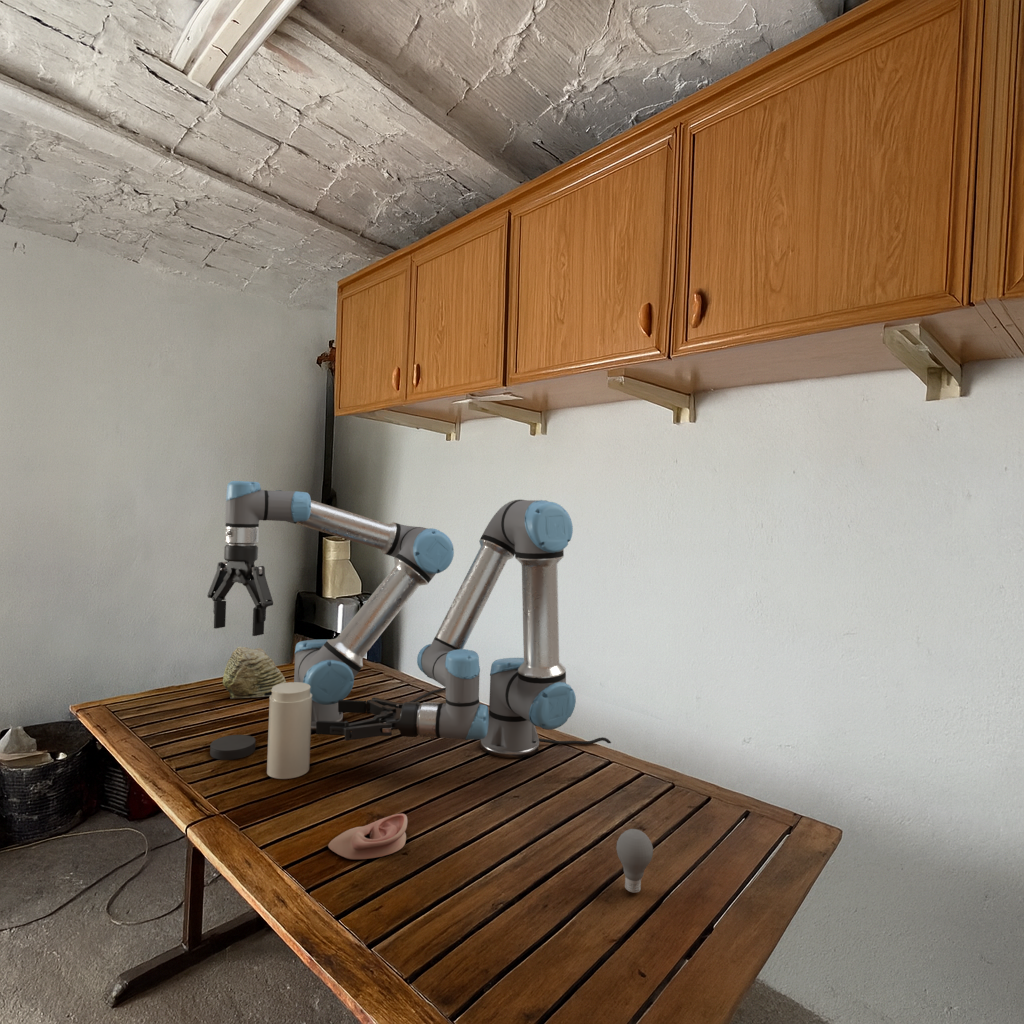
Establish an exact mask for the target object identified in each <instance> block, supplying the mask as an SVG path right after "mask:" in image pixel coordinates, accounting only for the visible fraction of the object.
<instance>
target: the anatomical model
mask: <svg viewBox="0 0 1024 1024" xmlns="http://www.w3.org/2000/svg"><path fill="white" fill-rule="evenodd" d="M407 827H408V816H407V815H406V814H405V813H396V814H392V815H388V816H385V817H383V818H380V819H377V820H376V821H373V822H371V823H368V824H366V825H363V826H356V827H352V828H350V829H347V830H345V831H343V832H341V833H340V834H338V835H337V836H335V837H334V838H333V839H331V841H329V843H328V845H327V847H328V849H329V850H331V851H332V852H334V853H335V854H337V855H338V856H341V857H342V858H345V859H347V860H355V861H356V860H367V859H369V860H370V859H375V858H381V857H385V856H388V855H391V854H395V853H396V852H398V851H400V850H401V849H403V847H404V846H405V844H406V841H407V833H406V830H407Z"/></svg>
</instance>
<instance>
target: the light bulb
mask: <svg viewBox="0 0 1024 1024" xmlns="http://www.w3.org/2000/svg"><path fill="white" fill-rule="evenodd" d="M615 849H616V854H617V857H618V859H619V861H620V863H621V865H622V867H623V873H624V874H623V875H624V876H625V878H624V888H625V890H627V891H628V892H630V893H634V894H635V893H639V892H640V891H641V889H642V887H641V886H642V879H643V877H644V875H645V871H646V868H647V867H648V866H649V864H650V863H651V861H652V859H653V855H654V847H653V843H652V841H651V838H649V836H648V835H647V834H646V833H645V832H643V831H642V830H641V829H636V828H629V829H627V830H625V831H623V832H622V833H621V834H620V835H619V837H618V839H617V841H616V847H615Z"/></svg>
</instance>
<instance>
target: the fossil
mask: <svg viewBox="0 0 1024 1024" xmlns="http://www.w3.org/2000/svg"><path fill="white" fill-rule="evenodd" d="M222 676H223V677H222V685H223V687H224V688H225V690H226V691H228V693H229V698H230V699H250V698H264V697H270V696H271V695H272V691H271V689H272V687H274V686H275V685H278V684H282V683H287V680H286V678H285V676H284V674H283V673H282V672H281V669H279V668H278V667H277V665H276V663H275V662H274V660H273V659H272V658H271V657H270V656H269V655H268V654H267V653H266V652H265V650H264V649H263V648H260V647H258V648H251V647H247V646H246V647H245V646H238V647H237V648H236V649H235V650H233V651H232V653H231V656H230V657H229V659H228V660H227V663H226V666H225V668H224V671H223V675H222Z"/></svg>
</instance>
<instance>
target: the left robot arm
mask: <svg viewBox="0 0 1024 1024" xmlns="http://www.w3.org/2000/svg"><path fill="white" fill-rule="evenodd" d="M260 521H264V522H265V521H274V522H287V523H290V524H295V525H298V526H300V527H305V528H308V529H311V530H315V531H318V532H321V533H325V534H328V535H332V536H335V537H337V538H342V539H345V540H348V541H352V542H354V543H358V544H362V545H365V546H367V547H372V548H375V549H379V550H380V551H381V553H382V554H383V555H386V556H389V557H391V558H392V557H393V560H394V561H393V562H394V566H393V568H392V569H391V570H390V571H389V573H388V574H387V575H386V577H384V579H383V580H382V581H381V583H380V584H379V585H378V586H377V588H376V589H375V590H374V591H373V592H372V594H371V595H370V596H369V598H368V599H367V600H366V601H365V603H364V604H363V605H362V606H361V607H360V609H359V610H358V611H357V612H356V613H355V615H354V616H353V617H352V618H351V619H350V621H349V622H348V623H347V625H346V626H345V627H344V628H343V630H342V631H341V632H340V633H339V634H338V636H336V637H335V638H331V639H328V638H327V639H307V640H301V641H299V642H297V643H296V644H295V648H294V649H295V650H294V672H293V673H294V674H293V675H294V676H293V682H301V683H306V684H309V685H310V687H311V688H310V693H311V694H312V716H311V733H316V722H317V721H338V722H344V714H343V713H344V712H338V701H339V700H346V698H347V697H348V696H349V695H350V693H351V692H352V690H353V687H354V684H355V677H356V676H357V675H358V674H359V672H360V671H361V670H362V669H363V667H364V664H363V663H364V662H363V658H364V657H365V656H366V654H367V653H368V651H369V650H371V648H372V646H373V645H374V644H375V643H376V641H378V639H379V637H380V636H382V634H383V633H384V631H385V630H386V629H387V628H388V626H389V625H390V624H391V623H392V621H393V620H394V619H395V617H396V616H397V615H398V614H399V612H400V611H401V610H402V609H403V608H404V606H405V605H406V603H408V602H409V600H410V598H411V597H412V596H413V595H414V594H415V593H416V591H417V589H418V588H419V587H421V586H427V585H429V583H430V582H431V581H432V580H433V578H434V577H435V576H436V575H438V574H441V573H442V572H444V571H446V570H448V568H449V567H450V566H451V564H452V562H453V560H454V556H455V550H454V545H453V541H452V540H451V538H450V537H449V536H448V535H447V534H446V533H445V532H443V531H441V530H440V529H437V528H433V527H432V528H427V527H424V526H414V525H413V526H412V525H407V524H406V525H405V524H401V523H398V522H394V521H393V522H390V523H386V522H383V521H380V520H377V519H373V518H370V517H367V516H364V515H361V514H357V513H354V512H350V511H348V510H345V509H341V508H338V507H336V506H332V505H328V504H326V503H322V502H320V501H315V500H312V499H311V495H310V494H309V492H306V491H299V490H295V491H294V490H282V489H278V490H277V489H276V490H267V489H262V487H261V483H260V482H259V481H247V480H231V481H229V482H228V483H227V486H226V498H225V529H224V530H225V532H224V542H225V543H226V545H225V546H224V548H223V549H224V552H223V559H224V560H225V561H219V562H217V566H216V572H215V574H214V577H213V579H212V582H211V585H210V587H209V590H208V592H207V594H206V595H207V598H208V599H211V600H212V602H213V609H212V610H213V611H212V612H213V629H221V628H225V627H226V619H227V618H226V617H227V616H226V614H227V599H226V597H227V595H228V593H230V591H231V589H232V587H233V586H234V585H235V583H238V584H242V585H243V586H244V587H245V588H246V590H247V592H248V595H249V596H250V598H251V600H252V602H253V604H254V607H253V608H252V633H251V634H252V635H251V636H252V637H258V636H263V635H264V634H265V622H266V619H267V608H268V607H271V606H274V600H273V596H272V594H271V590H270V587H269V584H268V581H267V578H266V568H265V566H264V565H259V566H255V565H256V564H255V563H256V561H257V560H258V557H259V546H258V545H257V544H258V543H259V538H260V537H259V533H260V531H259V529H260ZM443 691H446V687H443V688H439V689H438V688H437V689H434V690H430V691H428V692H426V693H423V694H422V695H419V696H417V697H416V698H414V699H411V700H410V701H408V702H417V701H418V702H419V701H420V700H421V699H423V698H426V697H428V696H430V695H432V694H434V693H439V692H443ZM366 712H367V709H366Z"/></svg>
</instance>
